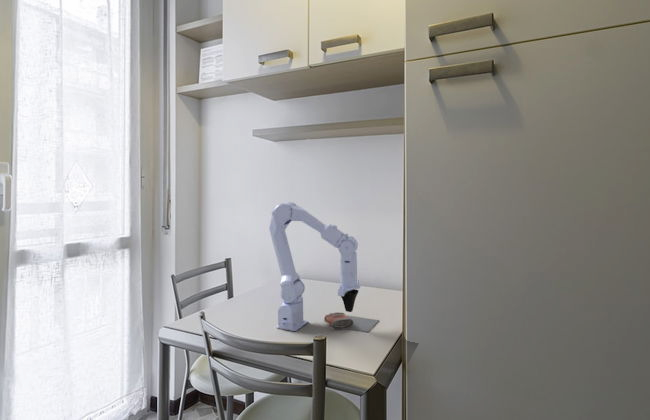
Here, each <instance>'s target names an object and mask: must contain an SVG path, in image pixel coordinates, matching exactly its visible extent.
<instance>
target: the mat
mask: <svg viewBox="0 0 650 420" xmlns="http://www.w3.org/2000/svg"><path fill="white" fill-rule="evenodd" d="M345 315H346V316H347V317H348V318H349V319H352V320H353V325H352V326H351V327H349V328H345V330H351V331H356V332H361V333H369V332H371V330H372V329H373V328H374V327H375V326H376V325H377V324H378V322H380V320H379V319H374V318H367V317H360V316H354V315H348V314H345Z"/></svg>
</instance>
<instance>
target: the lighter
mask: <svg viewBox="0 0 650 420" xmlns="http://www.w3.org/2000/svg"><path fill="white" fill-rule="evenodd" d="M346 315H347V314H345V313H344V312H331V313H330V312H329V314H325V316H324V318H323V319H324V320H323V321H324V322H325V323H326V324H328V325H329V326H330V327H331V328H332V330H344V329H345V328H349V327H351V326H352V325H353V320H352V319H349V318H348V317H347V316H346ZM345 330H346V329H345Z"/></svg>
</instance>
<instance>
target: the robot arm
mask: <svg viewBox="0 0 650 420" xmlns="http://www.w3.org/2000/svg"><path fill="white" fill-rule="evenodd" d="M291 222H302V223H303V224H305V225H306V226H308V227H310V228H312V229H313V230H315V231H317V233H319V234H320V237H321V239H323V240H324V241H326V242H327V243H328V244H330V245H331V246H333V247H334V248H335V249H338V252H339V253H340V268H339V269H340V284H339V289H337V296H338V297H341V300H342V302H343V303H342V304H343V306H344V310H345V312H349V313H352V312H353V310H354V306H355V302H356V300H357V299H356V297H357V296H358V294H359V290H358V289H360V288H361V285H360V280H358V259H357V257H358V254H357V250H358V246H359V243H358V241H357V239H356V238H355V237H354V236H349V234H348V233H344V232H343V231H342V230H340V229H338V226H337V225H336V224H333V225H332V224H324V223H323V222H322V221H321V220H319V219H318V218H316V217H315V216H314V215H312V214H311V213H310V212H309V211H307V210H305V209H304V208H303V207H302V206H300V205H297V204H296V203H294V202H291V201H289V202H286V203H283V202H281V203H278V204H276V206H274V209H273V210H272V211H271V219H270V223H269V234H270V237H271V240H272V245H273V248H274V252H275V257H276V260H277V263H278V267H279V271H280V275H281V279H280V282H279V283H280V294H279V295H280V299H282V303H281V304H282V305H280V306H279V308H278V310H277V321H278V322H277V325H276V327H275V328H276V329H281V330H285V331H286V330H287V331H291V332H297V331H298V330H300V329H301V328H302V327H304V326H305V325H306V324H308V323H309V321H308V320H304V298H303V294H304V292H305V284H304V282H303V281H302V280H301V278H300V275H299V274H298V273H297V271H296V268H295V264H294V263H295V262H294V260H293V256H292V252H291V249H290V245H289V244H290V243H289V241H288V236H287V232H286V230H287V228H288V226H289V224H290V223H291Z"/></svg>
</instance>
